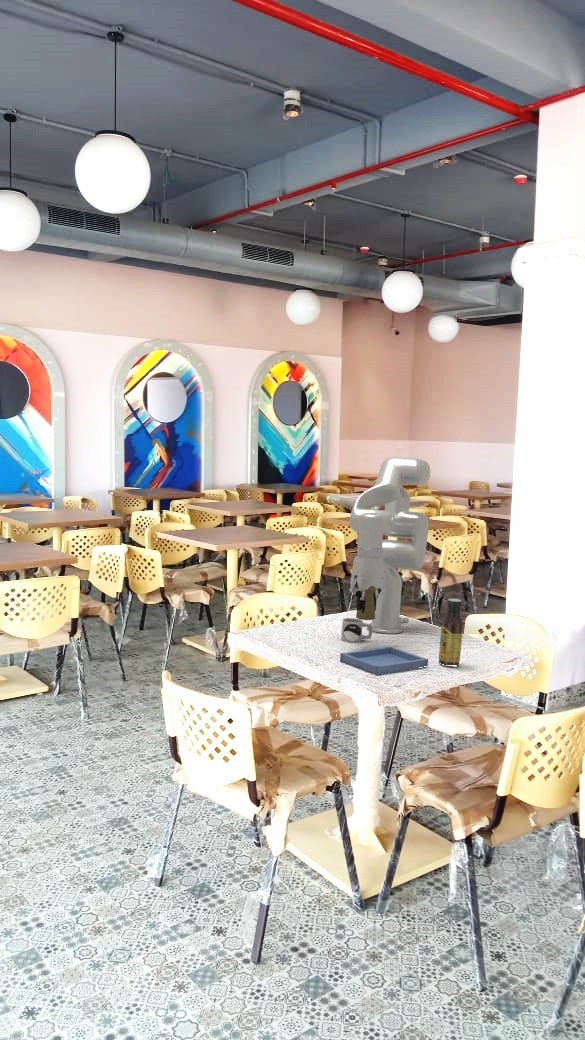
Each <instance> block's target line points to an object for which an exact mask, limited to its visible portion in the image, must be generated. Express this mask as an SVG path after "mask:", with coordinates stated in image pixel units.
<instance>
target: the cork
mask: <svg viewBox="0 0 585 1040" xmlns="http://www.w3.org/2000/svg"><path fill="white" fill-rule="evenodd" d="M375 591H376V588H375V587H374V586H371V587H369V588H368V589H367V590H365V596H364V600H365V610H364V612H363V613H362V609H361V610H358V611H357V610H356V614H355V619H360V620H362V621H372V620H374V619H375V607H374V593H375ZM360 594H361V591H360Z"/></svg>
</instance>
